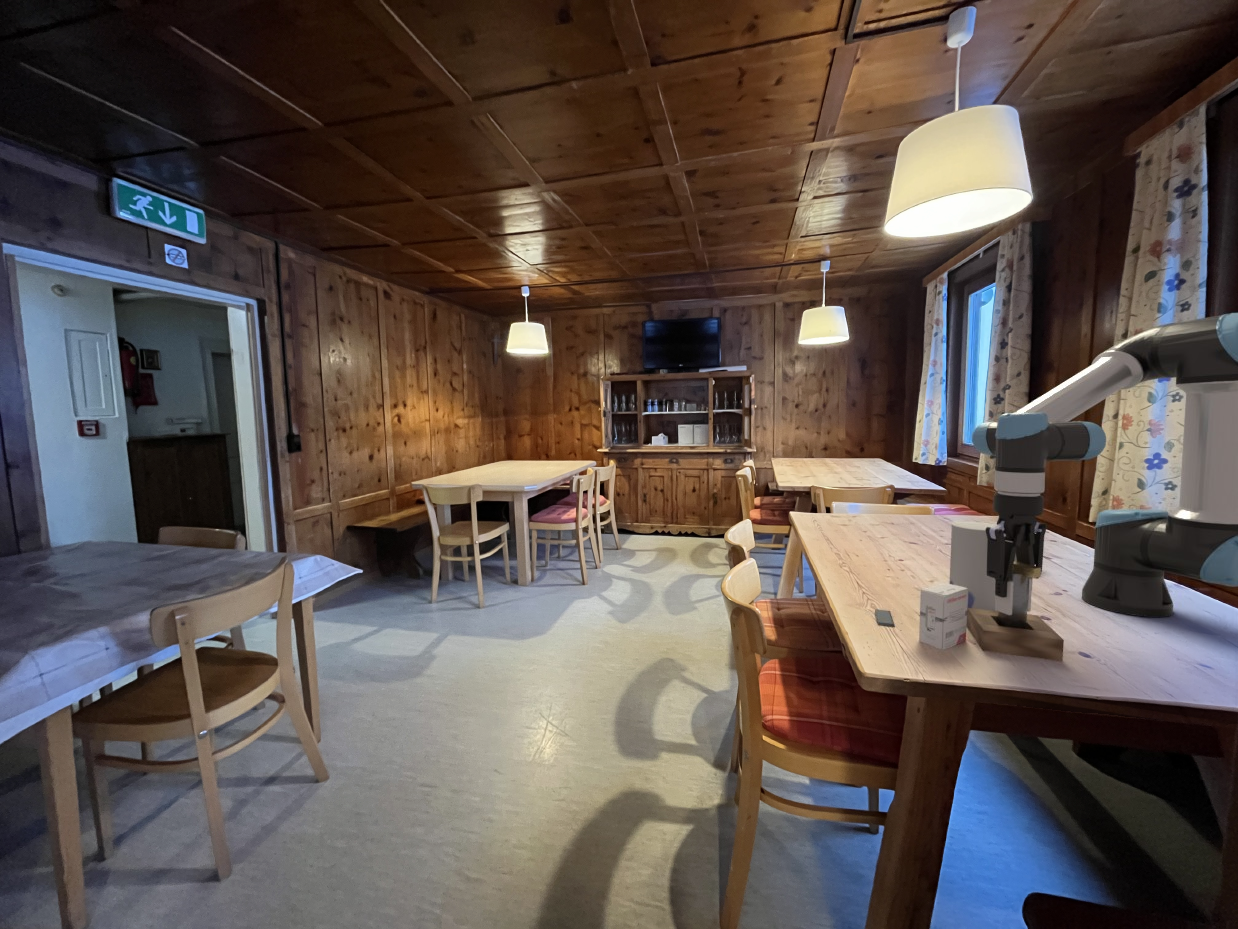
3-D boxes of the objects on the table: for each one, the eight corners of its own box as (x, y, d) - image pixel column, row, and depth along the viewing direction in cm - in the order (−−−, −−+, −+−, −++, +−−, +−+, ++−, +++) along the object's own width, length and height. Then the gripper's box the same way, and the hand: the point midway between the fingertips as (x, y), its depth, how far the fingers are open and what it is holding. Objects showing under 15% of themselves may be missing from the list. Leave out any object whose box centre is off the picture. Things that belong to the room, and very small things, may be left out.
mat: (913, 616, 113) (914, 613, 113) (920, 630, 106) (920, 627, 106) (874, 611, 116) (875, 609, 116) (878, 624, 109) (878, 622, 109)
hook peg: (1041, 642, 94) (1045, 566, 93) (1025, 646, 93) (1029, 569, 91) (998, 626, 102) (1001, 556, 100) (982, 629, 100) (986, 558, 99)
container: (1009, 616, 112) (1013, 530, 110) (960, 613, 114) (963, 529, 112) (986, 600, 122) (989, 521, 120) (941, 598, 124) (944, 520, 122)
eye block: (1036, 639, 100) (1037, 615, 100) (1062, 666, 89) (1063, 640, 89) (966, 630, 105) (967, 607, 105) (982, 655, 94) (983, 630, 94)
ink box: (942, 636, 103) (944, 581, 102) (967, 645, 99) (970, 587, 98) (917, 645, 99) (919, 588, 98) (942, 655, 95) (945, 595, 94)
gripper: (1028, 487, 101) (1023, 598, 103) (965, 493, 96) (961, 609, 98) (1071, 492, 94) (1065, 611, 96) (1006, 499, 88) (1000, 624, 90)
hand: (1012, 610), depth 97 cm, fingers closed on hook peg, 4 cm apart
